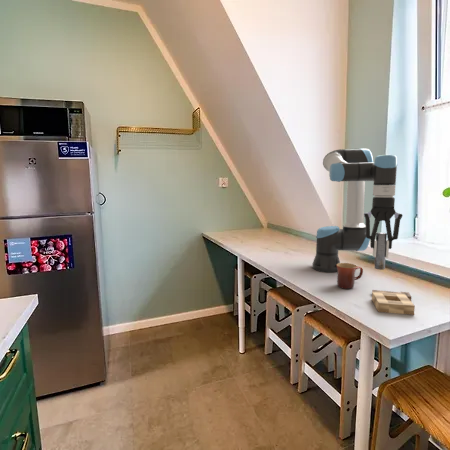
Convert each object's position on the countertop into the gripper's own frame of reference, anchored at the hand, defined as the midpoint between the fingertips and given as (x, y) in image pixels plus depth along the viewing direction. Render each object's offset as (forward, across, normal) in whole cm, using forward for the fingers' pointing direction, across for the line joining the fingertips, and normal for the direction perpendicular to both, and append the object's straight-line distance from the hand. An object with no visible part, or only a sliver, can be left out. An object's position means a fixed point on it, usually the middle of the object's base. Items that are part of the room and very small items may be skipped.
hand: (380, 256), depth 121 cm
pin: (+5, 0, 0) cm, 5 cm away
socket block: (+19, +5, -2) cm, 20 cm away
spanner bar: (+19, +6, +9) cm, 23 cm away
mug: (+19, -9, +18) cm, 28 cm away
